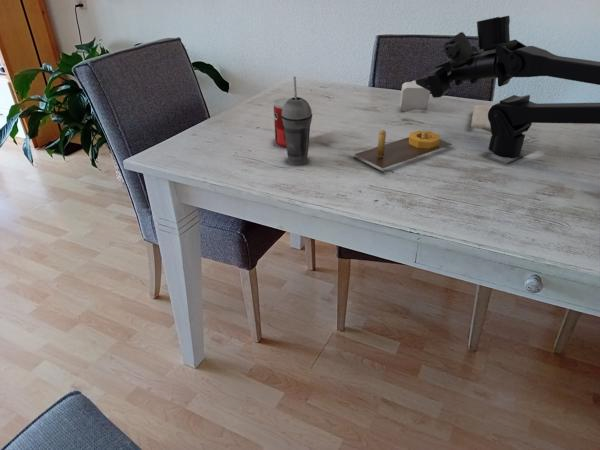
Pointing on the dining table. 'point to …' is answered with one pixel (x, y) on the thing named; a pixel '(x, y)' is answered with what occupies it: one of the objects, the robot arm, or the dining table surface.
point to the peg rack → (394, 151)
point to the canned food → (279, 121)
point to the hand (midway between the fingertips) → (426, 75)
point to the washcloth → (481, 117)
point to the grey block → (413, 97)
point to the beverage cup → (297, 128)
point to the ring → (424, 143)
